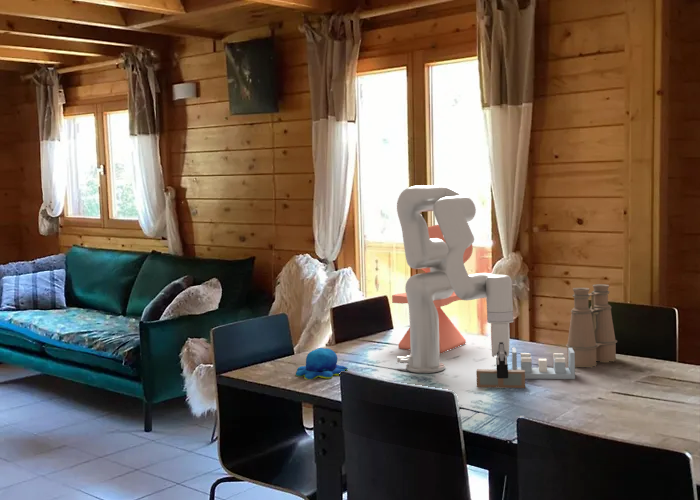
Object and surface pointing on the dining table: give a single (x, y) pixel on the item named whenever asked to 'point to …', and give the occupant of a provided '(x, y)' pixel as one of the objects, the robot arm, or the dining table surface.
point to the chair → (438, 307)
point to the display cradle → (543, 371)
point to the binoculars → (591, 327)
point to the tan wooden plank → (500, 379)
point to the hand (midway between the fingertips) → (502, 374)
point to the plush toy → (320, 365)
